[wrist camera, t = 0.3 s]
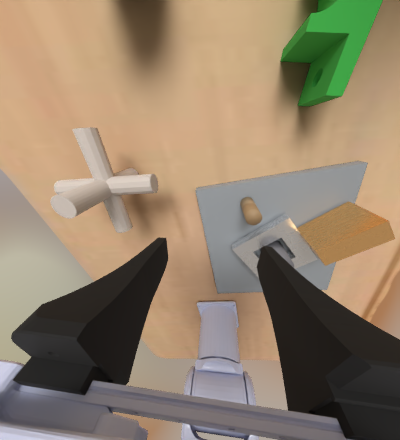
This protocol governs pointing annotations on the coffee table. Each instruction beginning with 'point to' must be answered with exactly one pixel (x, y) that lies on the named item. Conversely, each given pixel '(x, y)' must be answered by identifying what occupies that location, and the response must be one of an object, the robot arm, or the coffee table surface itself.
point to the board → (272, 217)
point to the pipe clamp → (331, 46)
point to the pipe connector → (100, 184)
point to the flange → (319, 236)
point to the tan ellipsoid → (250, 211)
